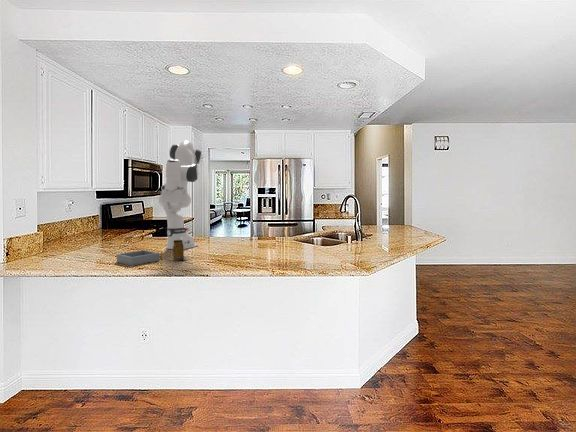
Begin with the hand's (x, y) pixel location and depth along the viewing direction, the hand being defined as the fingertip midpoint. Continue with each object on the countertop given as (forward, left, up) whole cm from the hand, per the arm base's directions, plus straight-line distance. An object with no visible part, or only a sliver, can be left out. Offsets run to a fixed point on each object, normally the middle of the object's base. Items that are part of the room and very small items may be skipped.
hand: (174, 210), depth 257 cm
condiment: (-1, +3, -30) cm, 30 cm away
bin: (+17, -13, -30) cm, 37 cm away
